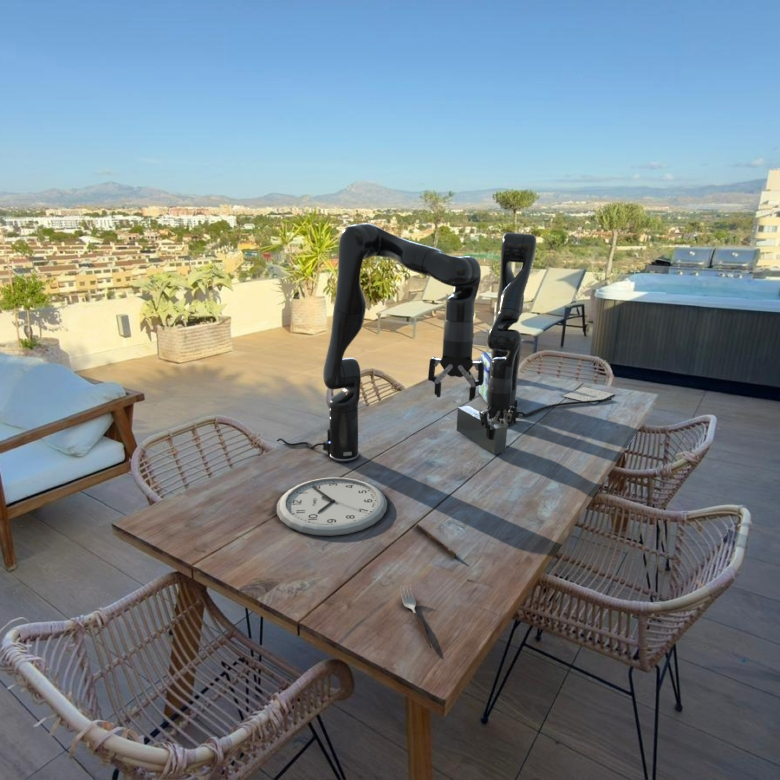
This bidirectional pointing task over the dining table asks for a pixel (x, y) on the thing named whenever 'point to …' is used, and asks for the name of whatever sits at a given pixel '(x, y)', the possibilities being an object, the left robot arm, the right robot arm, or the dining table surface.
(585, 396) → the invitation card
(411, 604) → the fork
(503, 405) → the right robot arm
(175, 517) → the dining table surface
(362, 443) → the dining table surface
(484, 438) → the bar
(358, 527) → the wall clock
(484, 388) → the lunch box
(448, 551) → the brown wooden stick
